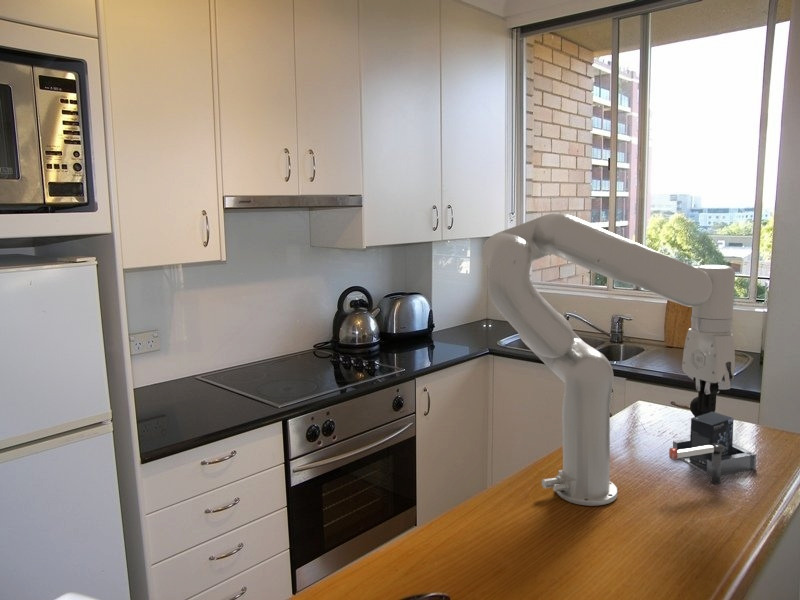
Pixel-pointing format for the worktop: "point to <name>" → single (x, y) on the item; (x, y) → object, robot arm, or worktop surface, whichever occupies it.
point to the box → (711, 434)
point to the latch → (695, 450)
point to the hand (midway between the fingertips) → (706, 410)
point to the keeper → (721, 461)
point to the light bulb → (696, 408)
